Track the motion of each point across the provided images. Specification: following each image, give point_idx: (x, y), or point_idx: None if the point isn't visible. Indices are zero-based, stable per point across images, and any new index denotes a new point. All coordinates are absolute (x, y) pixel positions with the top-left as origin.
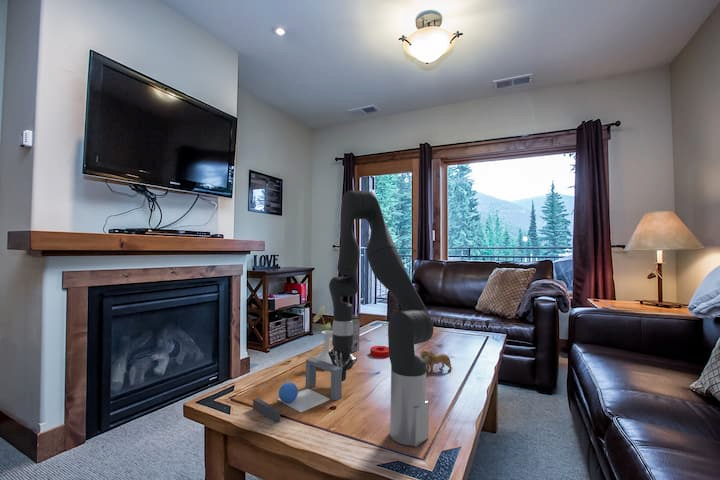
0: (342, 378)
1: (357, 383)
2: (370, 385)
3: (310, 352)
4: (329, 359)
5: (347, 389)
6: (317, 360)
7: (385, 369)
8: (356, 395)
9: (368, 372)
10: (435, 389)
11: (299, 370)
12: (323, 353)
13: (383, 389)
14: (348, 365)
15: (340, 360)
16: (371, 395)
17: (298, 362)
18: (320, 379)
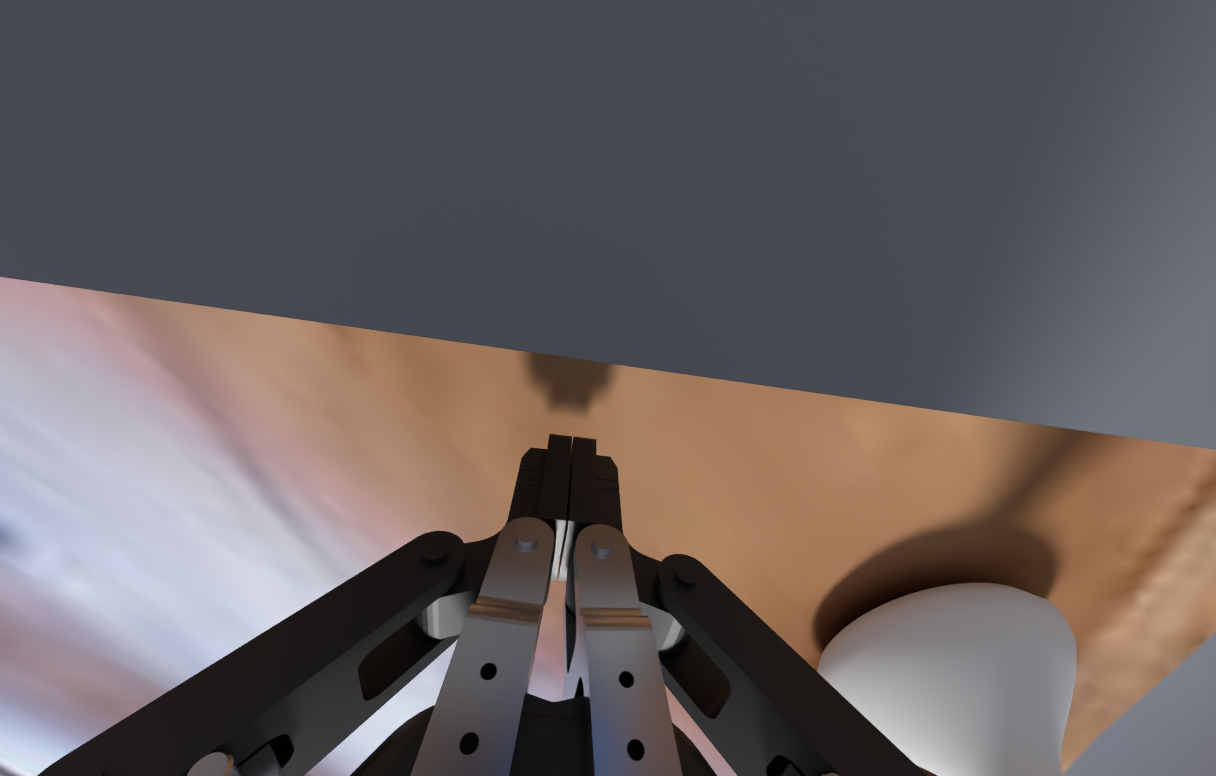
0: (532, 461)
1: (476, 521)
2: (363, 545)
3: (1120, 705)
4: (912, 684)
5: (447, 381)
6: (1189, 332)
7: None
8: (258, 320)
9: (553, 675)
10: (18, 693)
11: (1137, 456)
12: (1026, 735)
13: (224, 543)
14: (284, 635)
15: (500, 702)
16: (167, 405)
17: (1188, 565)
18: (833, 412)
